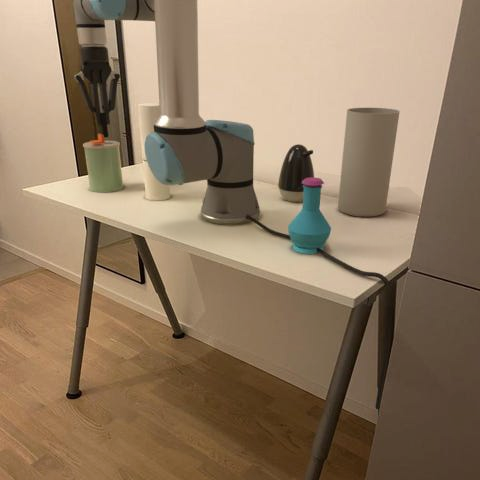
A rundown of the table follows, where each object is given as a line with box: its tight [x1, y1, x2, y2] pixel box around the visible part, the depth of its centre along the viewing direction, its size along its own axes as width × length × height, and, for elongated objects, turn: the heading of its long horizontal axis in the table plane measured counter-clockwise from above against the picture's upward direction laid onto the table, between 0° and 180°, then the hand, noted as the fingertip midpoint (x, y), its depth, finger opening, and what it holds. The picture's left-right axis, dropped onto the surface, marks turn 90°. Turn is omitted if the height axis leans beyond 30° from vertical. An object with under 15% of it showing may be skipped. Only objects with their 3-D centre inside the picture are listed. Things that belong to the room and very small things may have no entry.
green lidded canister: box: [82, 140, 124, 193], centre depth 153 cm, size 11×11×13 cm
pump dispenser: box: [278, 143, 315, 203], centre depth 141 cm, size 10×10×15 cm
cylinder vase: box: [337, 107, 401, 218], centre depth 129 cm, size 12×12×25 cm
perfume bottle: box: [287, 177, 332, 255], centre depth 107 cm, size 9×9×15 cm
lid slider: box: [89, 133, 106, 144], centre depth 149 cm, size 4×3×2 cm
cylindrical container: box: [137, 102, 171, 201], centre depth 141 cm, size 7×7×25 cm
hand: (104, 136), depth 150 cm, fingers closed
